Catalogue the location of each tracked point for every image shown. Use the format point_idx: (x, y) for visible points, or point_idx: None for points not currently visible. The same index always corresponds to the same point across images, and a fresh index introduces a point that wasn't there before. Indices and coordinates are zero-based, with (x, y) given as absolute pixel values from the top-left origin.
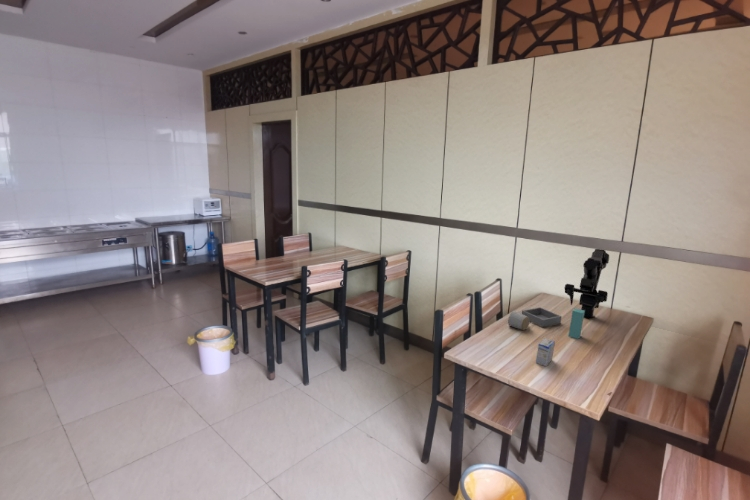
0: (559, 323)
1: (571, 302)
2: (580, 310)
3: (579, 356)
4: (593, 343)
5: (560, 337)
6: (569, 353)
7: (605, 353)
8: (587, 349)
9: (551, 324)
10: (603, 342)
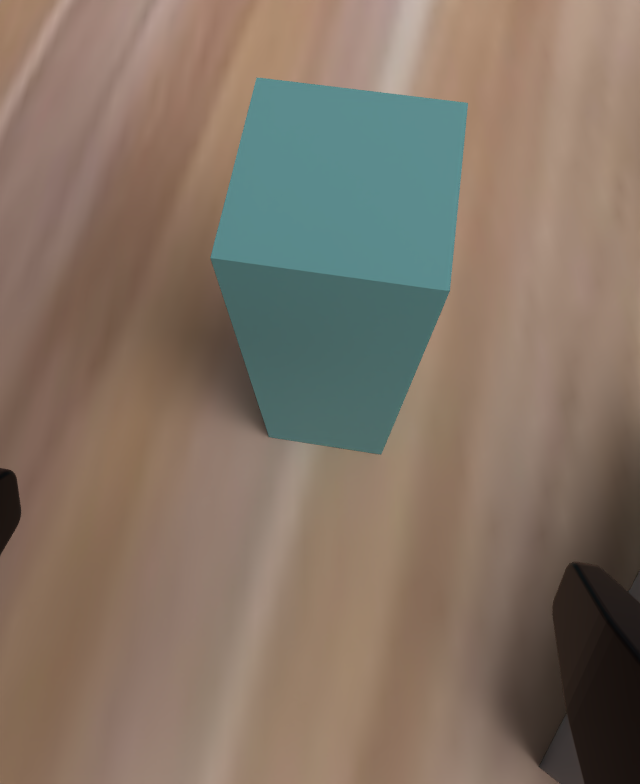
0: (552, 746)
1: (606, 591)
2: (309, 210)
3: (285, 4)
4: (147, 307)
5: (465, 276)
6: (358, 13)
7: (71, 148)
8: (217, 147)
9: (637, 590)
10: (35, 392)
